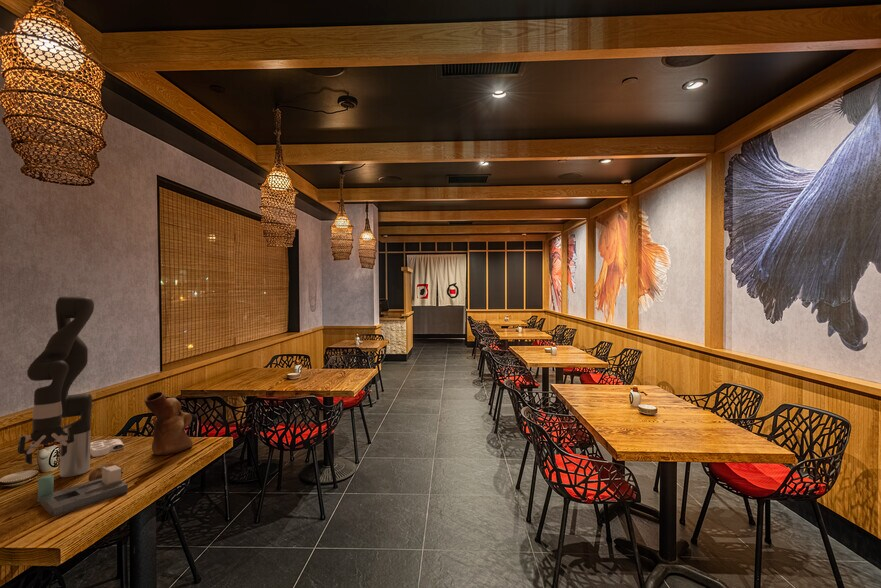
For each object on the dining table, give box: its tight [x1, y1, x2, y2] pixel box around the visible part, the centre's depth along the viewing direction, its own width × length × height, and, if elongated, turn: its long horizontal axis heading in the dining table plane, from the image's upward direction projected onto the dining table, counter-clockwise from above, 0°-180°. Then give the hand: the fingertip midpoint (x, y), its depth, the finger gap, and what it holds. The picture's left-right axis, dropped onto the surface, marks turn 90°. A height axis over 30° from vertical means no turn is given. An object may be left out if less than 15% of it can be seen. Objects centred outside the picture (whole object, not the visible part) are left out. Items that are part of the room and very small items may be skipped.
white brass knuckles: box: [90, 438, 125, 458], centre depth 187 cm, size 3×18×15 cm
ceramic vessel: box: [143, 391, 194, 456], centre depth 183 cm, size 16×22×30 cm
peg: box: [37, 474, 55, 503], centre depth 139 cm, size 4×4×8 cm
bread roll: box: [88, 462, 124, 482], centre depth 155 cm, size 10×10×8 cm
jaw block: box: [102, 464, 122, 485], centre depth 145 cm, size 6×4×6 cm, turn 57°
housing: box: [40, 478, 129, 519], centre depth 139 cm, size 16×20×4 cm
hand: (46, 459), depth 139 cm, fingers open, 8 cm apart
